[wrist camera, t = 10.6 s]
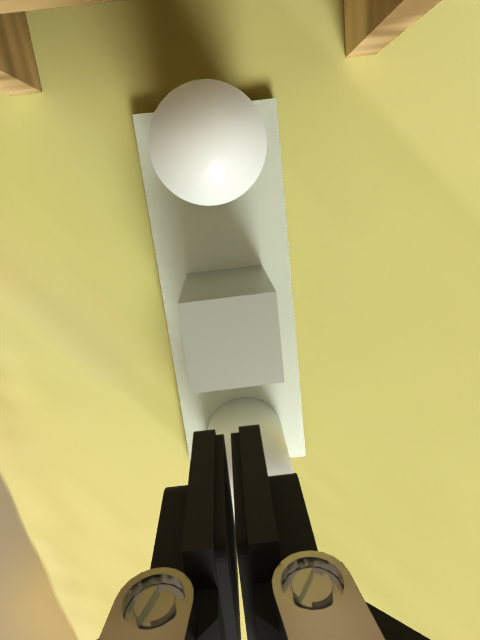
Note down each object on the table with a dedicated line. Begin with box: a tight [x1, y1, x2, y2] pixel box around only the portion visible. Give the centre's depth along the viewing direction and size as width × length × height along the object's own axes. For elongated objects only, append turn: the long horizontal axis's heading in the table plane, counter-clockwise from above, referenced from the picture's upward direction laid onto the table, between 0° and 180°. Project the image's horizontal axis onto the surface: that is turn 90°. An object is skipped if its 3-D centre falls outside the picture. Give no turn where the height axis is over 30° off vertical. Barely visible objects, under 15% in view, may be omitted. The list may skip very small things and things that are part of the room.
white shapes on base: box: [132, 79, 306, 521], centre depth 23 cm, size 7×20×8 cm, turn 6°
